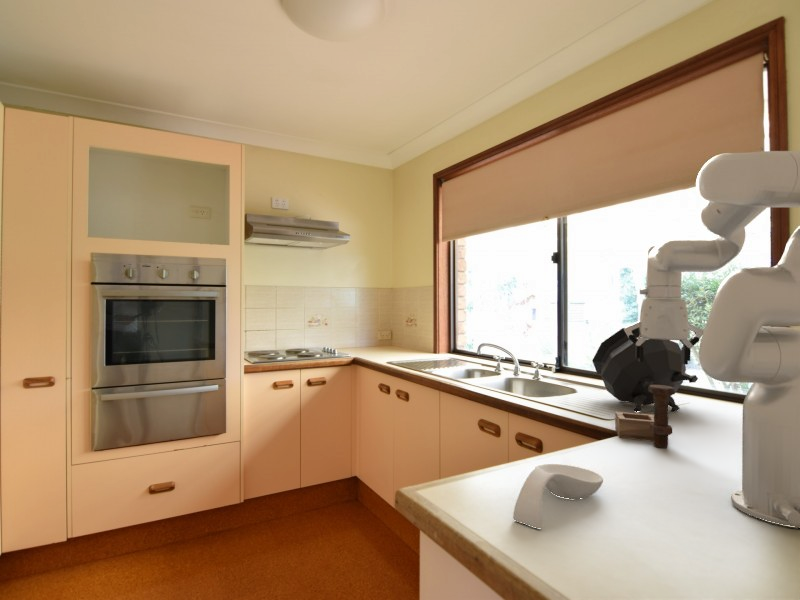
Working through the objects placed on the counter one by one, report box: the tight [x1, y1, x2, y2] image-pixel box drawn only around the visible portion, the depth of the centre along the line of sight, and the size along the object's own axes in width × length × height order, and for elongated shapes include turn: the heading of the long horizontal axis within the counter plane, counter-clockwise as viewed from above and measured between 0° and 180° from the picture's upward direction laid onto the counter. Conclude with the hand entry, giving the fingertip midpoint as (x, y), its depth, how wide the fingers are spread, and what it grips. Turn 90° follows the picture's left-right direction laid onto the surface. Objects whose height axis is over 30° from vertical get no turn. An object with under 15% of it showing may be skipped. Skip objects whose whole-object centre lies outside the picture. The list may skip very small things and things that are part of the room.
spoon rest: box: [512, 463, 604, 529], centre depth 80 cm, size 24×12×7 cm, turn 140°
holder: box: [614, 411, 654, 442], centre depth 121 cm, size 8×10×5 cm
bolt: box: [648, 385, 676, 449], centre depth 111 cm, size 6×5×15 cm
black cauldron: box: [592, 327, 699, 413], centre depth 153 cm, size 28×28×24 cm
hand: (662, 362), depth 112 cm, fingers open, 9 cm apart
